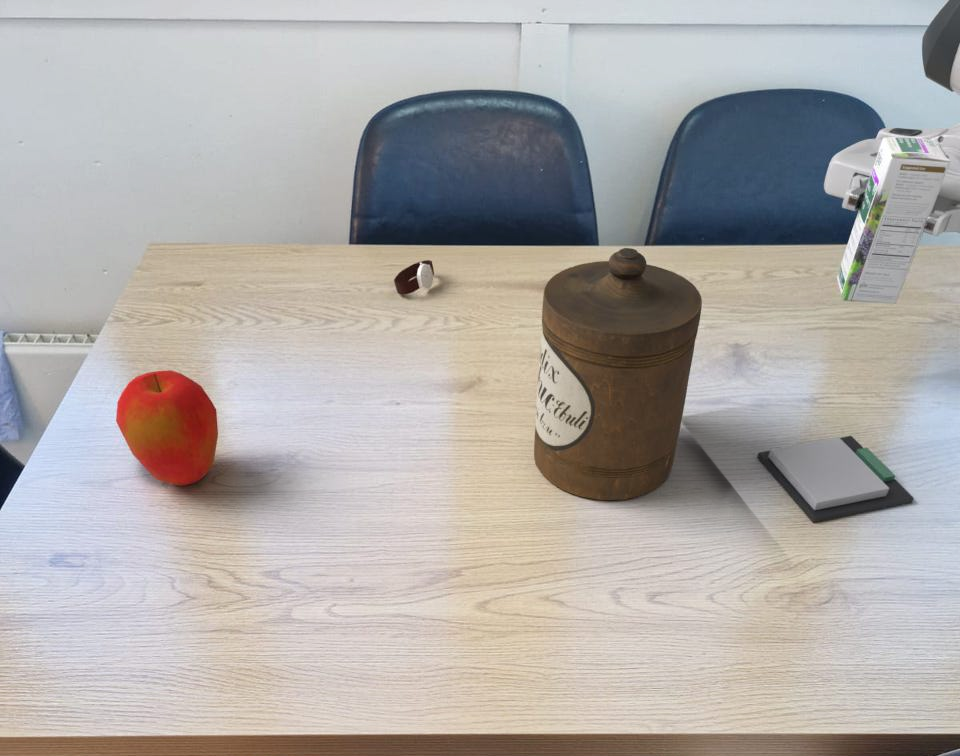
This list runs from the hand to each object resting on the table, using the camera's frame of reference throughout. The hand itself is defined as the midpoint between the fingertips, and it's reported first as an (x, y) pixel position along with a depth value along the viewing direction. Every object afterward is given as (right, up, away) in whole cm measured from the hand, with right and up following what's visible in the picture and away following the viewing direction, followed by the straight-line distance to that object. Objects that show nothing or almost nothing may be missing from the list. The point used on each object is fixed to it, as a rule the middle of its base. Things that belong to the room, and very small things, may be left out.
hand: (889, 213), depth 88 cm
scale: (-6, -28, +1) cm, 29 cm away
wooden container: (-29, -24, +5) cm, 38 cm away
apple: (-72, -27, +2) cm, 77 cm away
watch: (-51, +5, +31) cm, 60 cm away
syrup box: (+1, -5, +7) cm, 9 cm away
